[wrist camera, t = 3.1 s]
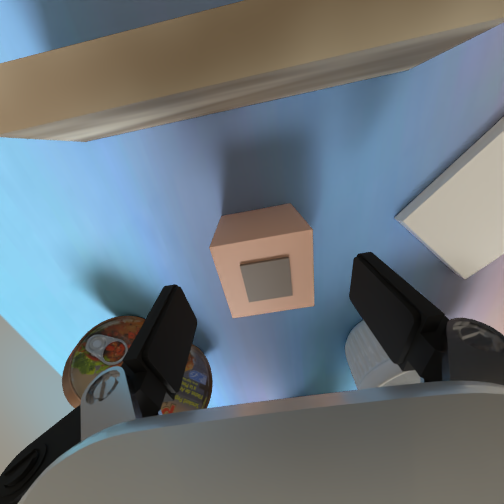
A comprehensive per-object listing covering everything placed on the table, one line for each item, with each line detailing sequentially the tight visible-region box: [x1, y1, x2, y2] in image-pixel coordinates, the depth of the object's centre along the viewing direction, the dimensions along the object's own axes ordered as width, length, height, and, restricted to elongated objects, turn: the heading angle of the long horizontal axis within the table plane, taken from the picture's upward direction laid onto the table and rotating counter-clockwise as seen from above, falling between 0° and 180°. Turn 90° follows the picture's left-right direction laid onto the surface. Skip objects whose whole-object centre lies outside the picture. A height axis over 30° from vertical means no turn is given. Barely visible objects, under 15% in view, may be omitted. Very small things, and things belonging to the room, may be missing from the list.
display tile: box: [394, 117, 504, 279], centre depth 15 cm, size 11×11×1 cm
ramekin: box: [345, 320, 420, 390], centre depth 21 cm, size 13×13×7 cm
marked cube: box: [209, 203, 314, 318], centre depth 15 cm, size 6×6×6 cm
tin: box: [62, 316, 212, 414], centre depth 20 cm, size 15×3×8 cm, turn 43°
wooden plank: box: [0, 0, 504, 142], centre depth 9 cm, size 2×22×6 cm, turn 100°
